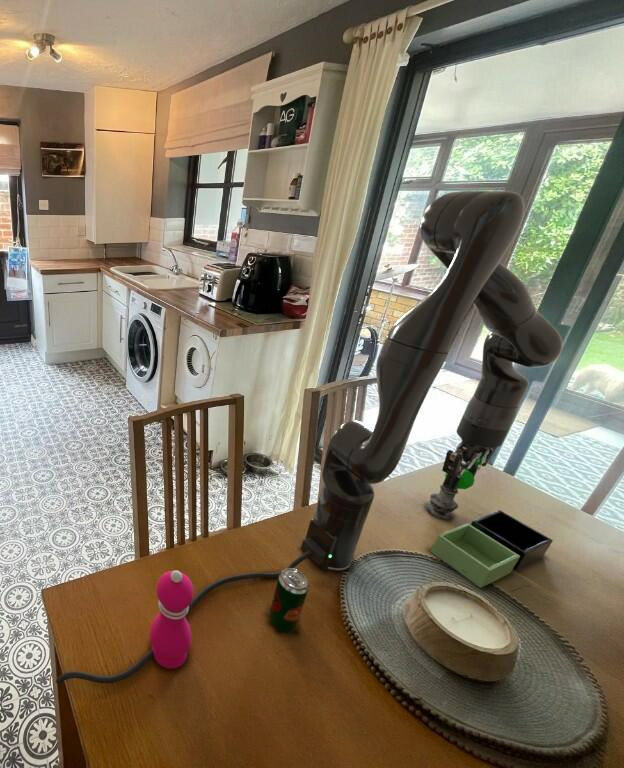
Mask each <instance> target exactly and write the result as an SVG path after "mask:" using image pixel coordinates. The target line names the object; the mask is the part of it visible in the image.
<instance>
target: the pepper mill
mask: <svg viewBox="0 0 624 768" xmlns="http://www.w3.org/2000/svg"><path fill="white" fill-rule="evenodd" d="M155 591H156V596H157V599H158V605H157V606H158V608H159V611H160V612H159V613H158V614H157V615H156V616H155V618H154V619H153V621H152V623H151V625H150V629H149V639H150V640H149V641H150V643H151V649H152V650H153V653H154V656H153V657H152V658H153V659H154V660H155V661H156V663H157V664H158V665H160V666H161V667H163V668H165V669H171V670H173V669H177V668H179V667H181V666H182V665H183V664H184V663H185V661H186V659H187V655H188V651H189V650H190V648H191V645H192V630H191V626H190V623H189V622H188V619H187V618H186V616H187V615H188V613H189V612H188V610H189V605H190V604H191V602H192V600H193V598H194V597H195V595H194V593H195V592H194V591H195V590H194V586H193V583H192V581H191V579H190V578H189V577H188V576H187V575H186V574H184V573H183V572H181V571H180V570H170V571H167V572H164V573H162V575H161V576H160V577H159V579H158V581H157V584H156V590H155ZM186 614H187V615H186ZM185 615H186V616H185Z"/></svg>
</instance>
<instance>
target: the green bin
mask: <svg viewBox="0 0 624 768" xmlns="http://www.w3.org/2000/svg"><path fill="white" fill-rule="evenodd" d="M430 553H432V554H434V555H435V556H436V557H438V558H439V559H441V561H443V562H445V563H446V564H447V565H448V566H450V567H451V568H452V569H454V570H455V571H457V572H458V573H459V574H461V575H462V576H464V577H465V578H466V579H467V580H468V581H470V582H472V583H473V584H474V585H476V586H477V587H479V588H481V589H482V588H484V587H485V586H487V585H489V584H492V583H493V582H496V581H498V580H499V579H502V578H503V577H505V576H507V575H509V574H511V573H512V571H513V570H514V569H513V568H514V566H515V564H516V563H517V561H518V559H519V558H520V556H519V555H518V554H516V553H514V552H513V551H511V550H510V549H508V548H506V547H505V546H503V545H502V544H500V543H499V542H497V541H495V540H494V539H492V538H491V537H489V536H487V535H486V534H484V533H483V532H481V531H479V530H478V529H476V528H475V527H473V526H471V523H465V524H462V525H460V526H457V527H455V528H453V529H452V528H451V529H450V530H448V531H445V532H443V533H440V534H438V535H437V538H436V540H435V541H434V544H433V546H432V548H431V550H430ZM460 568H461V569H463V570H464V571H466V572H467V573H466V572H464V571H463V570H461V569H460Z"/></svg>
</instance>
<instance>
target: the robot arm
mask: <svg viewBox="0 0 624 768" xmlns="http://www.w3.org/2000/svg"><path fill="white" fill-rule="evenodd" d="M525 208H526V207H525V200H524V198H523V197H522V195H520V194H519V193H517V192H515V191H510V190H509V191H508V190H459V191H452V192H447V193H445V194H442V195H440V196H439V197H437V198H436V199H434V200H433V202H431V203H430V204H429V206H428V207H427V208H426V210H425V211H424V212H423V216H422V217H421V221H420V230H419V231H420V235H421V238H422V241H423V243H424V244H425V245H426V247H427V248H428V250H429V251H431V253H432V254H433V255H434V256H435V257H436V258H437V259H438V260H439V261H440V262H441V263H442V265H443V266H444V267H445V269H447V270H446V271H445V274H444V275H443V277H442V278H441V280H440V281H439V283H438V284H437V285H436V287H434V289H432V291H431V292H430V293H429V294H428V295H426V296H425V297H424V298H422V299H421V300H420V301H418V303H416V304H415V305H413V306H412V307H411V308H410V309H408V310H407V311H406V312H405V313H403V315H401V316H400V317H399V318H398V319H397V320H396V321H395V322H394V323H393V325H392V326H391V327H390V329H389V331H388V333H387V336H386V337H385V340H384V342H383V345H382V346H381V349H380V351H379V354H378V356H377V359H376V364H375V374H376V376H375V377H376V384H377V386H376V387H377V393H378V403H379V404H378V405H379V406H378V407H379V408H378V415H377V419H376V422H375V425H374V428H373V427H371V426H370V425H368V424H366V423H365V422H363V421H359V420H349V421H346V422H344V423H342V424H341V425H340V426H338V428H336V430H335V431H334V432H333V433H332V435H331V437H330V439H329V441H328V444H327V448H326V451H325V457H324V461H323V467H322V472H321V477H322V482H323V484H322V487H321V490H320V495H319V498H318V502H317V505H316V509H315V512H314V515H313V518H311V519H310V521H309V524H308V528H307V532H306V535H305V538H304V539H303V540H302V544H301V547H300V550H301V551H302V553H303V554H301V555H300V556H298V557H297V558H295V560H293V561H291V563H290V564H289V566H287V568H293V569H296V567H297V566H298V565H299V564H301V563H302V562H303V561H305V560H306V559H310V560H311V561H312V562H313V563H315V564H316V566H317V567H319V569H321V570H322V571H326V570H328V571H333V572H343V571H346V570H348V569H349V568H350V567H351V565H352V562H353V559H354V558H353V557H354V556H355V555H354V554H355V552H356V549H357V547H358V543H359V541H360V538H361V535H362V532H363V530H364V526H365V523H366V521H367V518H368V516H369V513H370V510H371V507H372V504H373V502H374V499H375V489H374V486H373V484H374V485H375V484H379V483H381V482H383V481H385V480H386V479H387V478H388V477H389V476H390V475H391V474H392V473H393V472H394V471H395V469H396V468H397V466H398V465H399V463H400V460H401V459H402V456H403V454H404V451H405V449H406V445H407V443H408V440H409V437H410V435H411V432H412V429H413V427H414V424H415V421H416V419H417V417H418V414H419V412H420V410H421V408H422V406H423V403H424V402H425V399H426V397H427V395H428V393H429V392H430V389H431V387H432V385H433V384H434V381H435V380H436V378H437V376H438V374H439V373H440V372H441V369H442V367H443V365H444V363H445V362H446V359H447V358H448V356H449V353H450V352H451V349H452V347H453V345H454V343H455V341H456V339H457V336H458V334H459V333H460V331H461V328H462V327H463V324H464V322H465V320H466V319H467V317H468V315H469V313H470V312H471V310H472V308H473V306H474V308H475V310H476V311H477V312H476V313H478V316H479V317H480V320H481V322H482V323H483V325H484V327H485V328H486V329H487V330H488V334H487V335H486V337H485V338H484V343H483V346H482V347H483V348H482V361H481V362H482V363H481V376H480V380H479V382H478V384H477V386H476V389H475V391H474V393H473V395H472V397H471V398H470V400H469V401H468V403H467V405H466V407H465V410H464V412H463V415H462V417H461V419H460V421H459V424H458V425H457V429H456V434H457V436H458V437H460V439H461V442H459V443H458V444H457V446H456V448H455V450H454V451H453V450H452V449H448V450H447V452H446V455H445V458H444V462H443V466H442V470H441V471H442V472H444V473H447V476H446V478H445V477H444V480H443V483H442V485H443V486H444V487H446V488H448V489H450V490H455V489H456V487H457V485H458V482H459V480H460V478H461V476H462V474H463V473H464V472H465V470H466V469H467V470H468V471H470V472H471V473H472V474H473V477H474V478H475V476H476V475H477V473H478V471H480V470H481V468H482V467H483V468H484V467H486V466H487V465H488V463H489V461H490V460H491V458H492V456H493V455H494V454H495V452H496V450H497V448H499V447H501V446H502V445H503V443H504V441H505V439H506V437H507V434H509V431H510V429H511V427H512V425H513V424H514V421H515V419H516V416H517V413H518V409H519V408H520V405H521V403H522V401H523V399H524V397H525V395H526V393H527V392H528V389H529V386H530V382H529V380H528V378H527V377H525V376H524V375H523V374H521V373H520V372H519V371H517V369H515V367H514V364H517V365H520V366H521V367H522V366H523V367H526V368H530V369H531V368H532V369H539V368H543V367H547V366H549V365H550V364H553V363H554V362H556V360H557V359H558V358H559V357H560V356H561V353H562V350H563V339H562V337H561V335H560V333H559V331H558V330H557V329H556V328H555V326H553V325H552V323H551V322H549V320H547V319H546V317H545V316H543V315H542V314H541V313H540V312H539V311H538V310H537V309H536V306H535V304H534V301H533V299H532V296H531V294H530V291H529V290H528V288H527V286H526V285H525V284H524V282H523V281H522V280H521V279H520V278H519V277H518V276H517V275H516V274H515V273H514V272H513V271H511V270H510V269H509V268H508V267H507V266H505V265H504V264H502V262H501V261H502V259H503V257H504V256H505V254H506V253H507V251H508V250H509V248H510V247H511V245H512V243H513V241H514V240H515V237H517V234H518V232H519V230H520V228H521V226H522V223H523V220H524V217H525V210H526V209H525ZM513 363H514V364H513ZM460 467H461V469H460ZM459 469H460V470H459ZM281 572H283V570H281V571H277V572H249V573H248V572H247V573H241V574H235V575H231V576H227V577H223V578H222V579H218V580H216V581H214V582H212V583H210V584H208V585H207V586H205V588H203V589H202V590H201V591H200V592H199V593H198V594H196V595H194V596H193V600H192V602H191V604H190V605H189V610H188V613H189V612H190V611H191V610H192V608H193V607H194V606H195V605H196V604H197V603H198V602H199V601H200V600H202V599H203V597H204V596H206V595H207V594H209V593H210V592H211V591H214V590H215V589H216V588H218V587H220V586H223V585H225V584H227V583H230V582H231V583H232V582H235V581H241V580H242V581H243V580H248V579H257V578H262V579H263V578H265V579H278V577H279V574H280V573H281ZM188 613H187V614H186V615H185V617H187V615H188ZM153 656H154V653H153V650H152V648H151V649H150V650H149V651H148V652H147V653H145V655H144V656H143V657H141V659H139V660H138V661H137V662H136V663H135V664H133V665H132V666H131V667H129V668H128V669H126V670H124V671H122V672H120V673H117V674H114V675H106V676H105V675H99V674H98V675H97V674H93V673H89V672H85V671H78V670H70V671H67V672H64V673H62V674H61V675H59V676H58V677H57V678H56V679H55V683H56V684H57V685H58V684H62V683H63V682H65V681H66V680H71V679H78V680H79V679H80V680H84V681H89V682H91V683H92V682H93V683H98V684H115V683H117V682H120V681H123V680H125V679H127V678H129V677H131V676H133V675H134V674H135V673H137V672H138V671H139V670H140V669H142V668H143V667H144V666H145V665H146V664H147V663H148V662H149V661H150V660H151V659H152V658H154V657H153Z"/></svg>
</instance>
